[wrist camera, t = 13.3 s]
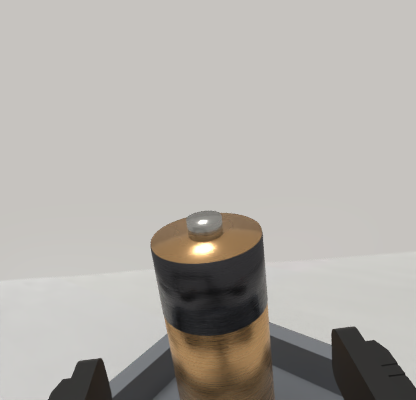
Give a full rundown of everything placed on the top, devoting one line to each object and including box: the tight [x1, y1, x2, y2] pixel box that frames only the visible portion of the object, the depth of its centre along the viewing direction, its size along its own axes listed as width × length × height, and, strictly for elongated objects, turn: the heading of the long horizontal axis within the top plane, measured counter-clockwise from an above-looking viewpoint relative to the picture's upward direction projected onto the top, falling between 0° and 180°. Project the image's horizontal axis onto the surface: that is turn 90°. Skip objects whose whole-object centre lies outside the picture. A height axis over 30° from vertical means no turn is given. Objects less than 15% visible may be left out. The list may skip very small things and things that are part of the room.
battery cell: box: [151, 211, 275, 400], centre depth 16 cm, size 4×4×12 cm
